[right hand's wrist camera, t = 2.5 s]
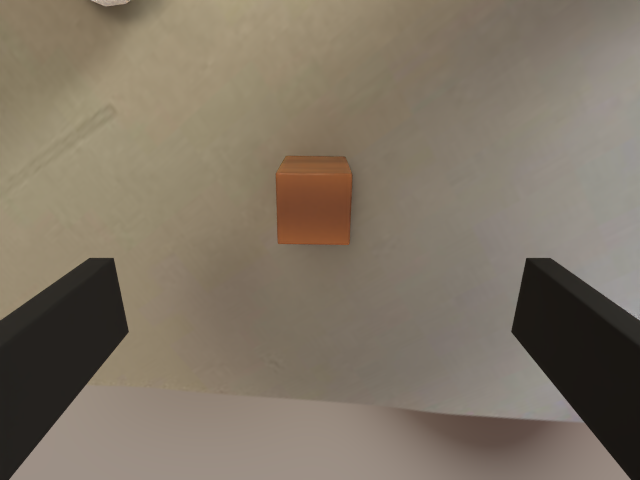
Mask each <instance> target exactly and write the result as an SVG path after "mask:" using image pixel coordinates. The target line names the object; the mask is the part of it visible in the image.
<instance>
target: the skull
mask: <svg viewBox="0 0 640 480" xmlns="http://www.w3.org/2000/svg"><path fill="white" fill-rule="evenodd" d="M91 1H94V2H96V3H98V4H101V5H103V6H113V5H120V4H126V3H128V2H129V1H131V0H91Z"/></svg>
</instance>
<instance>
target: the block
mask: <svg viewBox="0 0 640 480" xmlns="http://www.w3.org/2000/svg"><path fill="white" fill-rule="evenodd" d="M351 198H352V173H351V170H350V168H349V165H348V163H347V160H346V158H345V157H333V156H286V157H285V159H284V160H283V162H282V164H281V165H280V167H279V169H278V171H277V172H276V200H277V236H278V244H330V245H349V243H350V222H351Z"/></svg>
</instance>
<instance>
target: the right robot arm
mask: <svg viewBox="0 0 640 480" xmlns="http://www.w3.org/2000/svg"><path fill="white" fill-rule="evenodd" d="M128 332H129V331H128V326H127V321H126V316H125V311H124V306H123V302H122V297H121V292H120V287H119V282H118V277H117V272H116V267H115V262H114V258H89V259H87V260H86V261H85V262H83V263H82V264H80V265H79V266H77V267H76V268H75V269H73V270H72V271H70V272H69V273H68V274H66V275H65V276H63V277H62V278H60V279H59V280H58V281H56V282H55V283H53V284H52V285H50V286H49V287H48V288H46V289H45V290H43V291H42V292H40V293H39V294H38V295H36V296H35V297H33V298H32V299H30V300H29V301H28V302H26V303H25V304H23V305H22V306H21V307H19V308H18V309H16V310H15V311H13V312H12V313H11V314H9V315H8V316H6V317H5V318H3V319H2V320H1V321H0V480H9V479H10V478H11V476H12V475H13V474H14V473H15V472H16V470H17V469H18V468H19V467H20V465H21V464H22V463H23V462H24V460H25V459H26V458H27V457H28V456H29V454H30V453H31V452H32V451H33V449H34V448H35V447H36V446H37V444H38V443H39V442H40V441H41V440H42V438H43V437H44V436H45V435H46V433H47V432H48V431H49V430H50V428H51V427H52V426H53V425H54V423H55V422H56V421H57V420H58V419H59V417H60V416H61V415H62V414H63V412H64V411H65V410H66V409H67V407H68V406H69V405H70V404H71V403H72V401H73V400H74V399H75V398H76V396H77V395H78V394H79V393H80V391H81V390H82V389H83V388H84V386H85V385H86V384H87V383H88V382H89V380H90V379H91V378H92V377H93V375H94V374H95V373H96V372H97V370H98V369H99V368H100V367H101V366H102V364H103V363H104V362H105V361H106V359H107V358H108V357H109V356H110V354H111V353H112V352H113V351H114V350H115V348H116V347H117V346H118V345H119V343H120V342H121V341H122V340H123V338H124V337H125V336H126V335H127V333H128ZM511 332H512V333H513V335H514V336H515V337H516V338H517V340H518V341H519V342H520V343H521V345H522V346H523V347H524V348H525V350H526V351H527V352H528V353H529V354H530V356H531V357H532V358H533V359H534V361H535V362H536V363H537V364H538V366H539V367H540V368H541V369H542V370H543V372H544V373H545V374H546V375H547V377H548V378H549V379H550V380H551V382H552V383H553V384H554V385H555V387H556V388H557V389H558V390H559V391H560V393H561V394H562V395H563V396H564V398H565V399H566V400H567V401H568V403H569V404H570V405H571V406H572V407H573V409H574V410H575V411H576V412H577V414H578V415H579V416H580V417H581V419H582V420H583V421H584V422H585V423H586V425H587V426H588V427H589V428H590V430H591V431H592V432H593V433H594V435H595V436H596V437H597V438H598V440H599V441H600V442H601V443H602V444H603V446H604V447H605V448H606V449H607V451H608V452H609V453H610V454H611V456H612V457H613V458H614V459H615V460H616V462H617V463H618V464H619V465H620V467H621V468H622V469H623V470H624V472H625V473H626V474H627V475H628V476H629V478H630V479H631V480H640V321H639V320H638V319H637V318H635V317H634V316H632V315H631V314H629V313H628V312H627V311H625V310H624V309H622V308H621V307H619V306H618V305H617V304H615V303H614V302H612V301H611V300H610V299H608V298H607V297H605V296H604V295H602V294H601V293H600V292H598V291H597V290H595V289H594V288H592V287H591V286H590V285H588V284H587V283H585V282H584V281H582V280H581V279H580V278H578V277H577V276H575V275H574V274H572V273H571V272H570V271H568V270H567V269H565V268H564V267H563V266H561V265H560V264H558V263H557V262H555V261H554V260H553V259H551V258H526V262H525V267H524V272H523V277H522V282H521V287H520V292H519V297H518V302H517V306H516V311H515V316H514V321H513V326H512V331H511Z"/></svg>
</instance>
